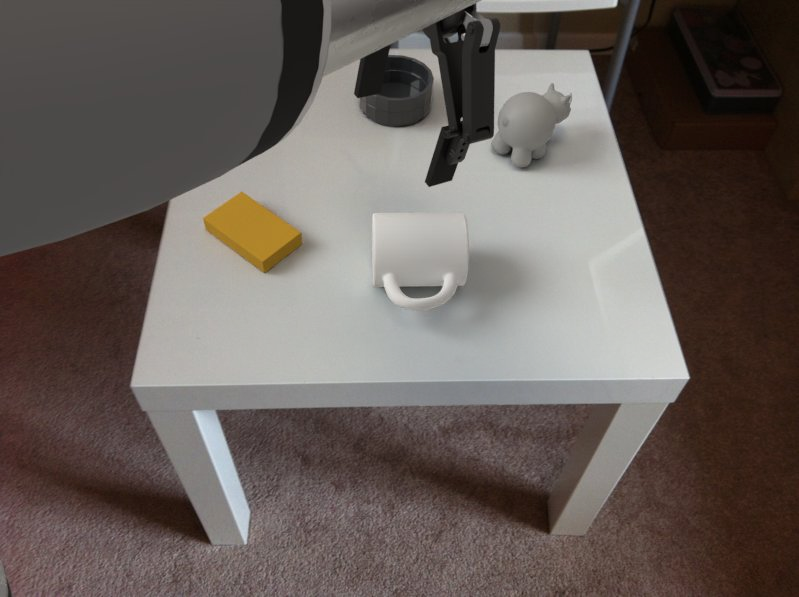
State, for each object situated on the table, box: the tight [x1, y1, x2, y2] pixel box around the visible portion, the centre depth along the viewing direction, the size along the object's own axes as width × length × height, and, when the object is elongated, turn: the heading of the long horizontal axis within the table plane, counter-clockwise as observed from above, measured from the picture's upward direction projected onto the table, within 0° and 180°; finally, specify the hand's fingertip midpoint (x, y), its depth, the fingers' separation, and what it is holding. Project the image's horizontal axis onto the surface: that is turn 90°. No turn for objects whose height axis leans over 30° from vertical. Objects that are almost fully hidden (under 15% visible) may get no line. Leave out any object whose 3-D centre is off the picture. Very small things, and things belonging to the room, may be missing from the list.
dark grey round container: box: [357, 54, 435, 128], centre depth 100 cm, size 10×10×4 cm
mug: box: [371, 212, 470, 311], centre depth 79 cm, size 12×10×8 cm
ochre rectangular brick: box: [202, 191, 303, 274], centre depth 85 cm, size 6×10×2 cm, turn 50°
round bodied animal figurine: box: [490, 82, 573, 168], centre depth 95 cm, size 7×12×8 cm, turn 127°
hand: (401, 136), depth 73 cm, fingers open, 13 cm apart
